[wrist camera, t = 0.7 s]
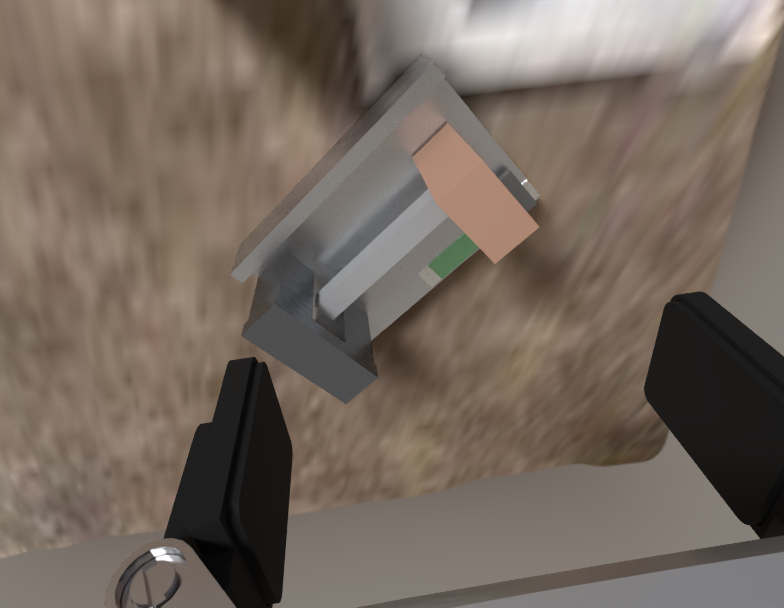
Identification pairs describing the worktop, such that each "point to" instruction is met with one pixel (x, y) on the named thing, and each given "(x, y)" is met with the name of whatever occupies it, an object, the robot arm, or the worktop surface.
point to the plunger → (440, 217)
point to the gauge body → (358, 234)
